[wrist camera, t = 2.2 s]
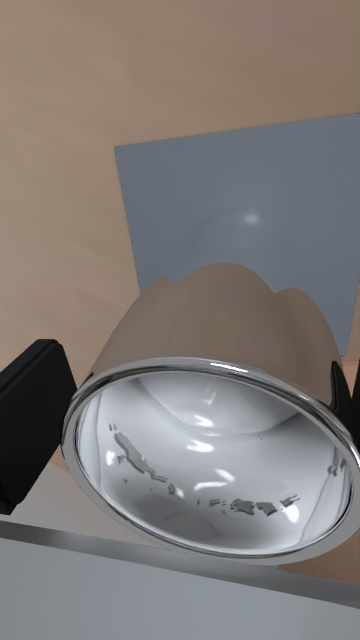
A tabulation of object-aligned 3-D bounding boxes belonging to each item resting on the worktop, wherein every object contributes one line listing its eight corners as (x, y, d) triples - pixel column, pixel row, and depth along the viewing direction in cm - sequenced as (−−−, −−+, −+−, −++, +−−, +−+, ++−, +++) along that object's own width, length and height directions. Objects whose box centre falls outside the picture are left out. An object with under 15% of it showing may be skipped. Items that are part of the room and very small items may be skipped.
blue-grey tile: (388, 109, 14) (390, 109, 14) (344, 354, 21) (345, 356, 21) (115, 146, 18) (113, 146, 18) (151, 347, 24) (150, 348, 24)
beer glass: (180, 299, 21) (64, 522, 9) (191, 193, 18) (24, 311, 5) (280, 318, 20) (315, 601, 8) (314, 210, 17) (477, 408, 4)
